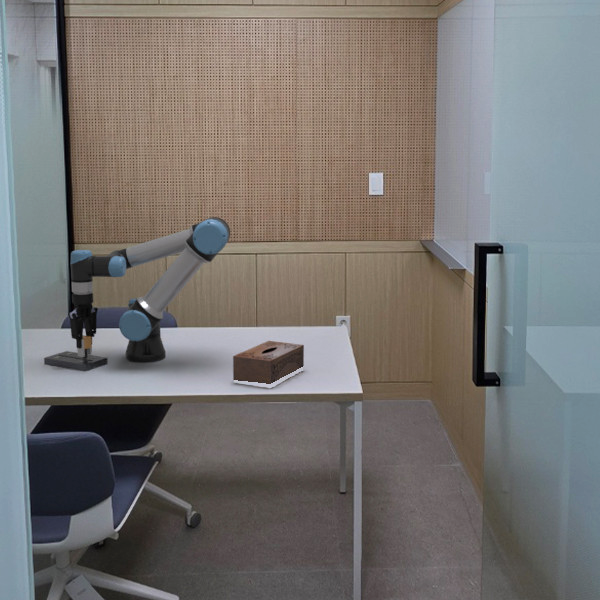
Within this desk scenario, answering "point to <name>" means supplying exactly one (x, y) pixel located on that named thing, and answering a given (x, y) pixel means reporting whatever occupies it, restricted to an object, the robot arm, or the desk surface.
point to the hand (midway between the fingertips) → (84, 355)
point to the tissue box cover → (268, 362)
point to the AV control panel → (75, 361)
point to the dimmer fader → (87, 344)
